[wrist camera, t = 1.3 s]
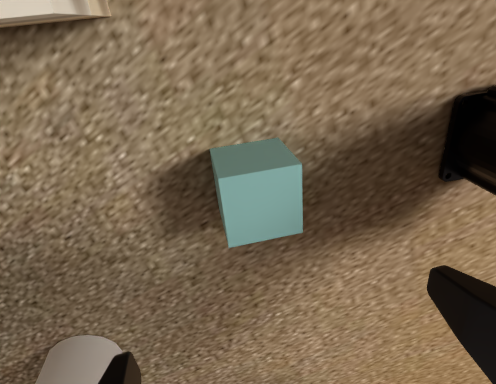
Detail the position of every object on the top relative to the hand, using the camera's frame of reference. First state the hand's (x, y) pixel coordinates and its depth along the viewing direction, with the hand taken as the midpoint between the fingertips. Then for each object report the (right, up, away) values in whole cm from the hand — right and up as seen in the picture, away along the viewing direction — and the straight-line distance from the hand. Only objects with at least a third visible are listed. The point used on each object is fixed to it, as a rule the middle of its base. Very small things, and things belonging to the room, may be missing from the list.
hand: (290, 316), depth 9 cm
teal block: (-1, +5, +12) cm, 13 cm away
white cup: (-15, -10, +17) cm, 25 cm away
